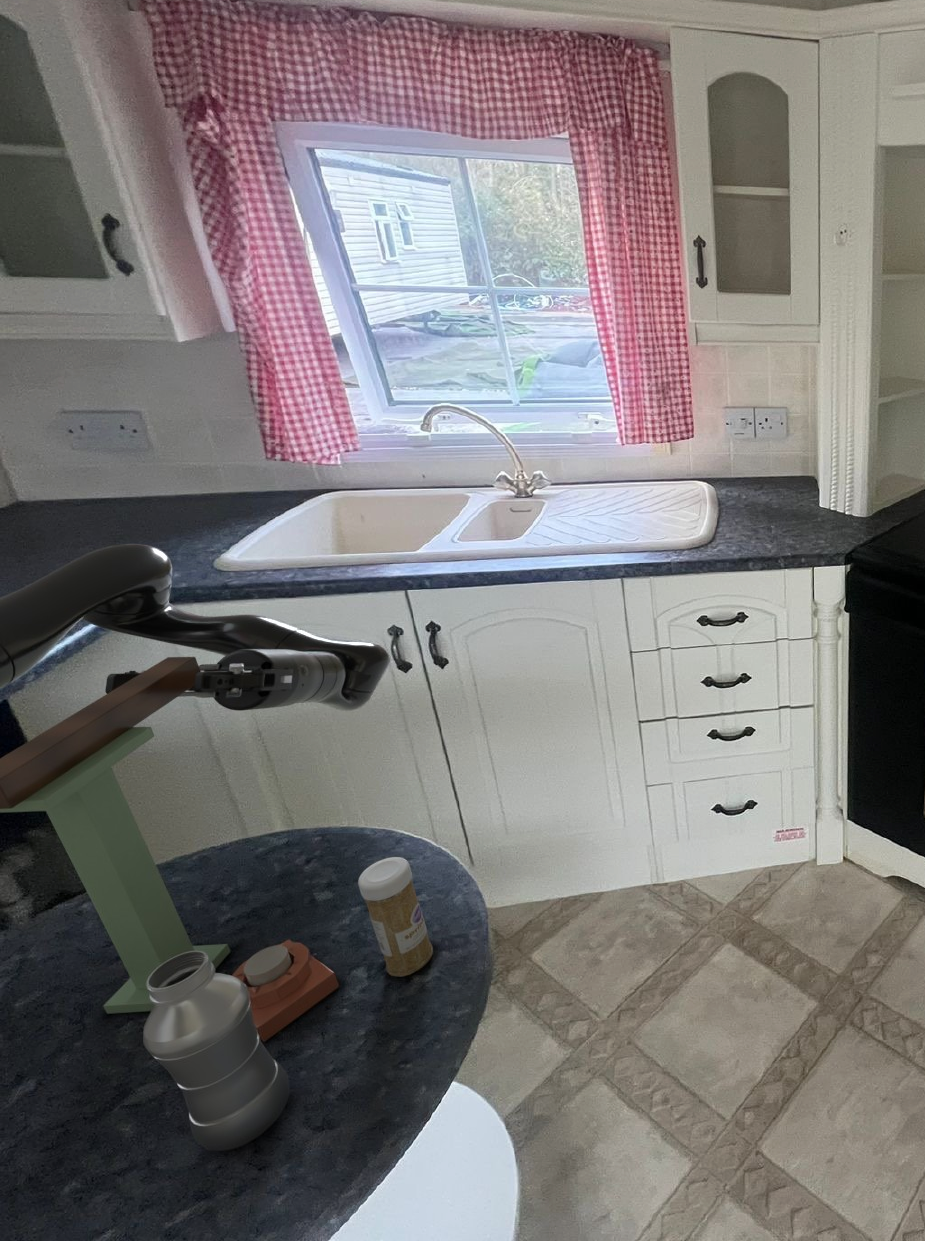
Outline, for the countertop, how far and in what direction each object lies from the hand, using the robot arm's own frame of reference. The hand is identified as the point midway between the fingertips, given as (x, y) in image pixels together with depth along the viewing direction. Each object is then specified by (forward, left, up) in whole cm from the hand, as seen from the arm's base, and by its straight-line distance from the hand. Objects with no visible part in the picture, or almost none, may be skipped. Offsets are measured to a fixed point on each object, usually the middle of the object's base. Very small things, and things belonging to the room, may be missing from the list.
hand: (153, 683), depth 79 cm
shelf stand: (+6, -9, -32) cm, 33 cm away
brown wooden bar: (+4, -6, -2) cm, 7 cm away
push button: (+18, -4, -28) cm, 33 cm away
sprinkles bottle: (+26, +5, -32) cm, 41 cm away
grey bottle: (+30, -12, -32) cm, 45 cm away
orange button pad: (+18, -4, -32) cm, 36 cm away
